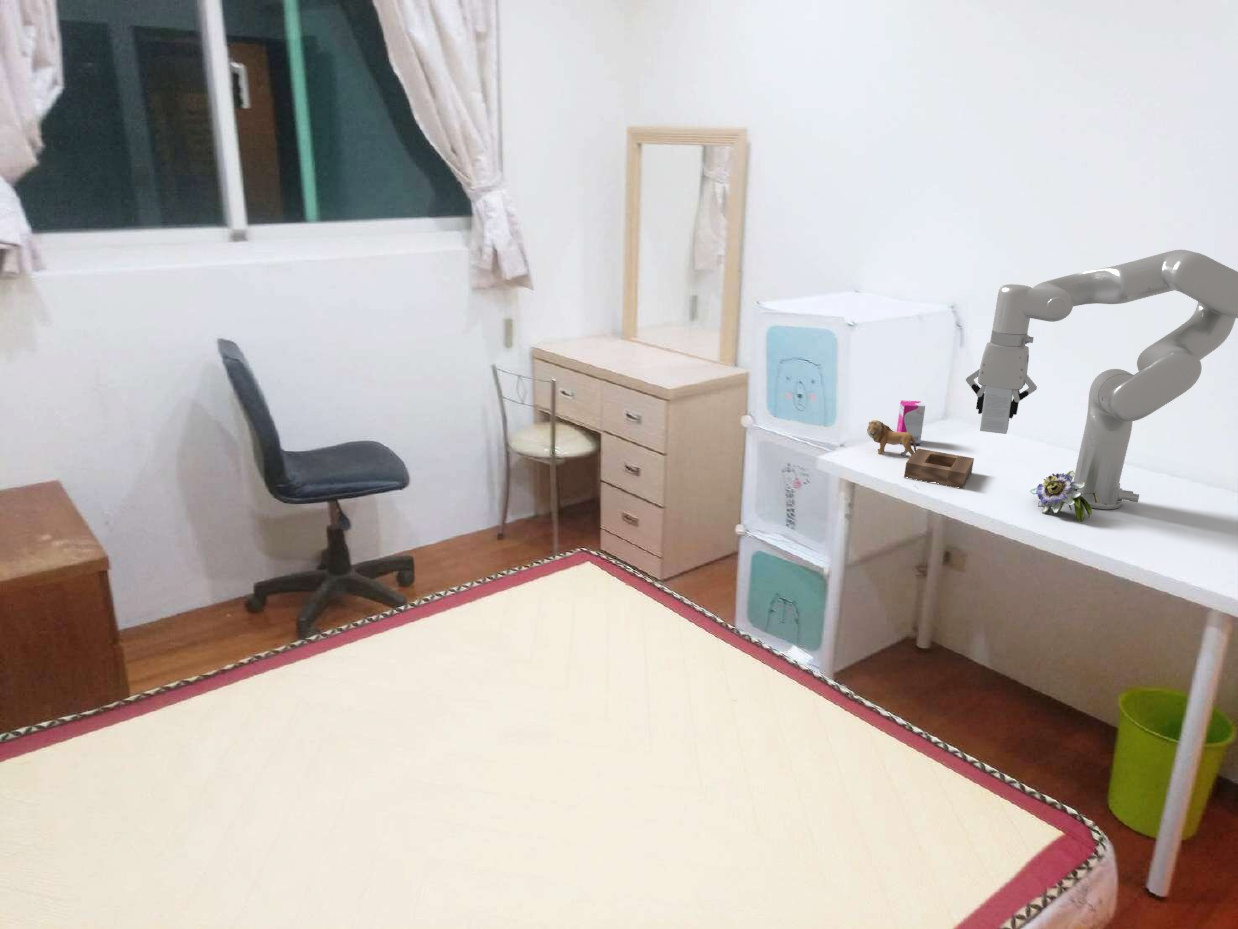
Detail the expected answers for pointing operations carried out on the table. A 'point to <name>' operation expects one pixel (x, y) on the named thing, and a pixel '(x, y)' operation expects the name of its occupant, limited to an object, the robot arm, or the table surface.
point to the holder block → (939, 468)
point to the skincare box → (996, 410)
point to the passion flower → (1062, 494)
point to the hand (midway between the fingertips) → (995, 414)
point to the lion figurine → (890, 437)
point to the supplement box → (911, 419)
